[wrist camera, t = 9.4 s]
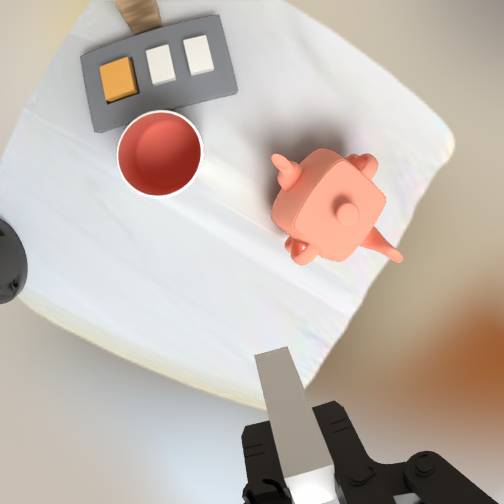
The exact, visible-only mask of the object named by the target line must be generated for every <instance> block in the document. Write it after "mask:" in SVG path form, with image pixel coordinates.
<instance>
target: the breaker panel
mask: <svg viewBox="0 0 504 504" xmlns="http://www.w3.org/2000/svg"><path fill="white" fill-rule="evenodd" d="M125 57H128V58H129V59H130V60H131V61H132V62H133V63H134V67H135V72H136V77H137V81H138V86H139V91H140V94H137V95H134V96H131V97H128V98H125V99H122V100H119V101H116V102H114V103H112V102H110V101H107V100H106V98H105V93H104V88H103V83H102V78H101V72H100V67H101V66H103V65H106V64H108V63H111V62H114V61H117V60H119V59H122V58H125ZM80 58H81V64H82V71H83V77H84V82H85V88H86V93H87V99H88V104H89V109H90V114H91V118H92V123H93V128H94V132H97V133H103V132H106V131H108V130H111V129H114V128H117V127H120V126H123V125H125V124H128V123H131V122H132V121H133V120H134V119H136V118H137V117H139V116H140V115H142V114H145V113H147V112H150V111H155V110H169V111H170V110H174V109H177V108H181V107H185V106H188V105H192V104H196V103H200V102H204V101H208V100H212V99H217V98H221V97H226V96H230V95H235V94H237V92H238V87H237V83H236V79H235V75H234V71H233V67H232V63H231V59H230V55H229V51H228V47H227V43H226V39H225V36H224V32H223V28H222V24H221V20H220V16H219V15H213V16H208V17H203V18H199V19H194V20H190V21H185V22H181V23H177V24H173V25H169V26H166V27H162V28H159V29H155V30H152V31H148V32H145V33H142V34H139V35H136V36H133V37H130V38H127V39H124V40H121V41H118V42H115V43H112V44H110V45H107V46H104V47H102V48H99V49H97V50H94V51H92V52H89V53H87V54H85V55H82V56H80Z"/></svg>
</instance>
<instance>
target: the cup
mask: <svg viewBox="0 0 504 504" xmlns="http://www.w3.org/2000/svg"><path fill="white" fill-rule="evenodd" d="M204 157H205V147H204V143H203V140H202V137H201V135H200V133H199V132H198V130H197V128H196V127H195V126H194V124H193V123H192V122H191V121H190V120H189V119H187V118H186V117H184V116H183V115H181V114H179V113H176V112H173V111H169V110H155V111H150V112H147V113H145V114H142V115H140V116H139V117H137V118H136V119H134V120H133V121H132V122H131V123H130V124H129V125H128V126H127V127H126V128H125V130H124V131H123V133H122V135H121V137H120V139H119V142H118V145H117V150H116V161H117V167H118V170H119V173H120V175H121V177H122V179H123V180H124V182H125V183H126V184H127V185H128V186H129V187H130V188H131V189H132V190H134V191H135V192H137V193H139V194H141V195H143V196H146V197H150V198H166V197H170V196H173V195H176V194H178V193H180V192H182V191H183V190H184V189H186V188H187V187H188V186H189V185H190V184H191V183H192V182H193V181H194V180H195V178H196V177H197V175H198V173H199V171H200V169H201V167H202V165H203V162H204Z"/></svg>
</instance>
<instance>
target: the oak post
mask: <svg viewBox="0 0 504 504" xmlns="http://www.w3.org/2000/svg"><path fill="white" fill-rule="evenodd" d="M115 5H116V7H117V9H118V10H119V12H120V13H121V15H122V16H123V18H124V19H125V21H126V22H127V24H128V25H129V27H130V28H131V30H132V31H133V33H134V34H135V36H136V35H139V34H142V33H145V32H148V31H152V30H155V29H159V28H162V23H161V18H160V13H159V9H158V6H157V3H156V0H115Z"/></svg>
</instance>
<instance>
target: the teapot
mask: <svg viewBox="0 0 504 504" xmlns="http://www.w3.org/2000/svg"><path fill="white" fill-rule="evenodd" d="M271 159H272V162H273V164H274V165H275V166H276V167H277V168H278V169H279V172H278V175H277V180H278V183H279V185H280V186H281V187H282V188H281V190H280V192H279V193H278V195H277V197H276V199H275V201H274V204H273V206H272V209H271V218H272V220H273V222H274V223H275V224H276V225H277V226H278V227H280V228H281V229H282V230H283V231H284V232H286V233H287V234H288V235H289V238H288V239H287V240H286V242H285V248H286V250H287V251H288V252H290V253H291V258H292V259H293V261H294V262H295V263H297V264H299V265H306V264H308V263H309V262H311V261H312V260H313V259H314V258H315V257H316V256H317V254H318V255H320V256H322V257H323V258H326V259H329V260H332V261H337V262H341V261H344V260H345V259H347V258H348V257H349V256H350V255H351V254H352V253H353V252H354V251H355V250H356V248H357V247H358V246H359V245H360V246H362V247H365V248H368V249H372V250H375V251H378V252H380V253H382V254H384V255H386V256H387V257H389V258H390V259H392V260H393V261H395V262H402V260H403V257H402V255H401V253H399V251H398V250H397V249H396V248H394V247H393V246H392V245H391V244H390V243H388V242H387V241H386V239H385V238H384V237H383V236H382V235H381V234H380V232H379V231H378V230H377V229H376V228H375V227H374V224H375V223H376V221H377V219H378V218H379V216H380V214H381V212H382V211H383V208H384V206H385V203H386V197H385V196H384V194H383V193H382V192H381V191H380V190H379V189H378V188H377V187H376V186H375V185H374V183H373V182H372V181H371V179H372V177H373V176H374V175H375V173H376V171H377V168H378V162H377V160H376V158H375V157H374V156H372V155H371V154H363V155H361V156H358V155H355V154H352V155H350V156H349V157H347V158H346V159H345V158H343V157H342V156H341V155H339V154H338V153H336V152H334V151H332V150H329V149H326V148H319V149H316V150H315V151H313V152H312V153H310V154H309V155H308V156H307V157H306V158H305V159H304V160H303V161H302V162H301V163H300V164H298V163H296V162H294V161H289V160H288V159H287V158H285V157H284V156H282V155H280V154H273V155H272V157H271ZM361 168H362V169H361ZM359 169H361V171H360V170H359ZM303 246H305V247H306V248H305V249H304V250H303V251H302V247H303Z"/></svg>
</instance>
